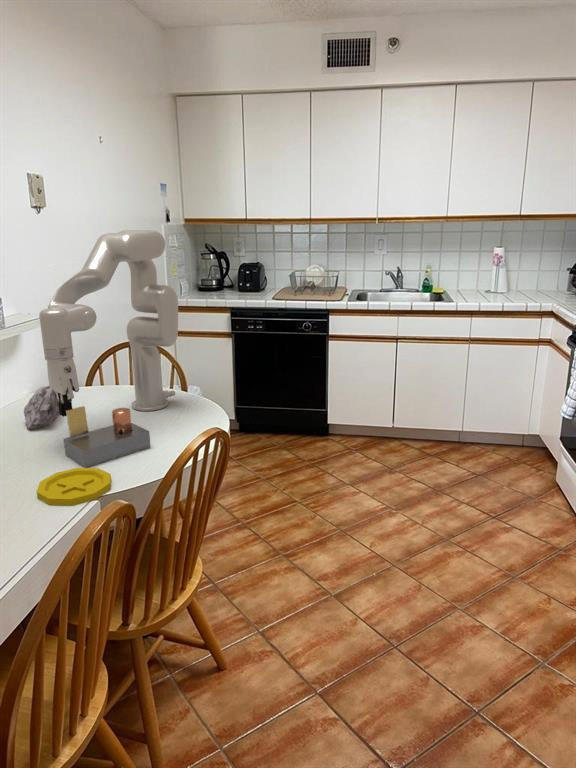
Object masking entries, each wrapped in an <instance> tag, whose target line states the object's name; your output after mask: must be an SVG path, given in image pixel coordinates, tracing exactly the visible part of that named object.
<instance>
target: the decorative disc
mask: <svg viewBox="0 0 576 768" xmlns="http://www.w3.org/2000/svg"><path fill="white" fill-rule="evenodd" d="M111 475H112V474H111V473H109V472H107V471H105V470H103V469H101V468H99V467H87V468H84V467H75V468H72V469H70V468H69V469H67V470H62V471H58V472H55V473H53V474H51V475H50V476H48V477H46V478H44V479H43V480H40V481H39V484H38V486H37V489H36V496H37V499H39V500H40V501H43V502H44V503H45V504H47V505H49V506H75V505H79V504H82V503H87V502H90V501H94V500H97V499H99V498H100V497H101V496H103V495H104V494H106V493H107V492H109V491H110V490H111V489H112V488H111V487H112V476H111Z"/></svg>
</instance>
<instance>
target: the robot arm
mask: <svg viewBox="0 0 576 768" xmlns="http://www.w3.org/2000/svg"><path fill="white" fill-rule="evenodd" d="M165 250H166V241H165V237H164V235H162V233H160V232H159V231H157V230H147V229H146V230H145V229H144V230H142V229H141V230H140V229H139V230H138V229H125V230H121V231H118V232H108V233H107V232H106V233H104V234H101V235H100V236H99V237H98V238H97V239H96V242H95V244H94V246H93V247H92V249H91V251H90V253H89V256H88V257H87V259H86V261H85V263H84V264H83V266H82V268H81V270H80V271H79V272H77V273H76V274H74V275H73V276H71V277H70V278H69V279H68V280H67V281H65V282H63V284H61V285H60V286H59V287H58V288H57V290H56V291H55V293H54V295H53V296H52V298H51V300H50V302H49V304H48V306H47V308H44V309H42V310H40V312H39V324H40V332H41V338H42V346H43V354H44V360H45V361H46V366H47V378H48V384H49V385H48V386H50V388H51V389H52V390H54V391H55V392H56V395H57V400H58V405H59V416H61V417H63V418H64V417H67V414H66V410H69V409H73V403H72V402H73V399H74V398H75V396H74V392H75V393H78V392H79V391H80V385H79V378H78V373H77V368H76V364H75V360H74V357H75V356H74V348H73V347H74V346H73V341H72V340H73V339H72V333H74V332H75V333H76V332H84V331H85V332H86V331H89V330H91V329H92V328H93V327H94V326H95V324H96V322H97V314H96V312H95V310H94V309H93V308H92V307H91V306H89V305H86V304H76V303H77V302H78V301H80V299H82V298H83V297H85V296H88V295H90V294H92V293H95V292H98V291H100V290H102V289H104V288H106V287H107V286H109V284H110V282H111V281H112V279H113V276H114V274H115V272H116V270H117V268H118V266H119V264H120V263H122V262H124V263H127V265H128V268H129V270H130V272H129V273H130V302H131V307H132V308H133V310H135V311H136V312H137V313H138V312H139V313H143V314H144V313H145V314H156V315H157V317H154V316H136V317H133V318H131V319H130V320H129V321H128V322H127V325H126V336H127V339H128V343H129V347H130V352H131V358H132V359H131V360H132V361H131V362H132V369H133V370H132V372H133V382H134V383H133V385H134V395H135V400H133V401H132V402H131V408H132V409H133V410H136V411H139V412H140V411H141V412H150V411H157V410H162V409H164V408H166V407H167V406H169V401H168V397H170V398H171V397H174V396H175V395H176V391H175V390H170V391H168V390H164V389H163V386H164V385H163V376H162V375H163V372H162V361H161V360H162V359H161V354H160V351H159V349H158V348H157V347H161V348H162V347H163V348H165V347H166V348H168V347H172V346H173V345H174V344H175V343H176V342H177V339H178V336H179V335H178V333H179V297H178V295H177V292H176V291H175V290H174V288H173V287H172V286H169V285H167V284H166V285H165V284H158V277H157V276H158V275H157V273H158V271H157V267H156V265H155V262H154V260H153V259H157V258H160V257H161V256H162V254H164V252H165Z"/></svg>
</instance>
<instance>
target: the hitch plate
mask: <svg viewBox="0 0 576 768" xmlns="http://www.w3.org/2000/svg"><path fill="white" fill-rule="evenodd" d="M131 426H132V430H131V431H130V432H127V433H122V434H119V433H115V432H114V427H113V424H112V425H109V426H105V427H102V428H98V429H94V430H91V431H89V432H88V433H86V434H82V435H78V436H75V437H70V436H69V437H66V438H63V446H64V453H65V456H66V457H68V458H69V459H70V458H71V460H72V461H73V460H74V461H73V462H75V463H77V464H78V465H79V466H81V468H91V467H93V466H96V465H99V464H102V463H105V462H109V461H112V460H116V459H119V458H122V457H125V456H128V455H131V454H135V453H137V452H141V451H143V450H146V449H151V438H150V436H151V435H150V430H148V429H146V428H143V427H142V426H139V425H138V424H135V423H133V422H131Z"/></svg>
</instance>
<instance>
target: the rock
mask: <svg viewBox="0 0 576 768" xmlns="http://www.w3.org/2000/svg"><path fill="white" fill-rule="evenodd" d="M58 415H60V413H59V405H58V400H57V395H56V392H55V391H54V390H52V389H51V388H50V385H48V386H40V387H39V388H37V390H36V391H35V392H34V394H33V395H32V396H31V398H30V399H29V401H28V403H26V405H25V406H24V408H23V416H24V421H25V425H26V429H27V430H35V429H39V428H41V427H43V426H44V427H45V426H46V427H48V426H50V425H51V424H52V423H53V421H55V419H57V418H58Z"/></svg>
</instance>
